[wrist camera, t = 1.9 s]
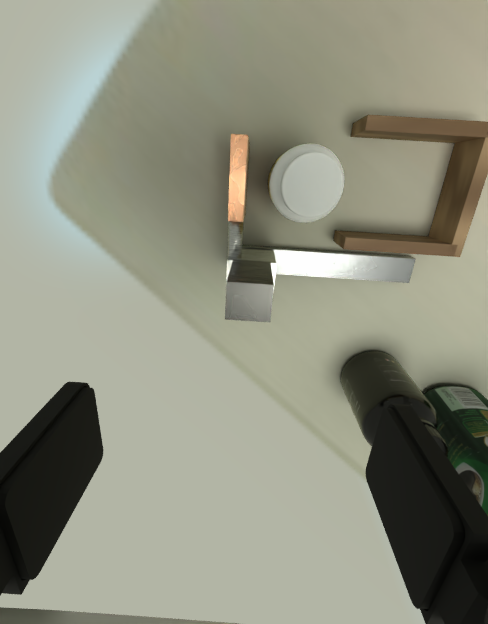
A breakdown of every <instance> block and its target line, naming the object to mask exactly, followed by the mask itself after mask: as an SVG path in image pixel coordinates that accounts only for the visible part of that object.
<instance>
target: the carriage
mask: <svg viewBox="0 0 488 624" xmlns="http://www.w3.org/2000/svg"><path fill="white" fill-rule="evenodd" d="M249 147H250V142H249V138H248V135H241V134H231V149H230V176H229V204H228V221H229V226H228V252H227V275H226V307H225V319H228V320H243V321H257V322H270V320H271V310H272V300H273V292H274V284H275V274H276V264H277V263H276V258H275V254H274V250H260V249H244V248H242V239H243V221H244V218H245V215H246V199H247V182H248V164H249Z"/></svg>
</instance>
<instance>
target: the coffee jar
mask: <svg viewBox="0 0 488 624" xmlns="http://www.w3.org/2000/svg"><path fill="white" fill-rule="evenodd" d="M424 395H425V396H426V398H427V399H428V400H429V401H430V403H431V404H432V405H433V407H434V408H435V410H436V413H437V416H438V427H437V430H438V431H439V433H440V435H441V437H442V438H443V439H444V441H445V442H446V445H447V446H448V451H449V452H448V457H447V458H448V459H449V461H450V462H451V464H452V465H453V466H454V468H455V469H456V471H457V472H458V474H459V475H460V477H461V478H462V479H463V481H464V482H465V484H466V485H467V487H468V488H469V490H470V491H471V492H472V494H473V495H474V497H475V498H476V500H477V501H478V503H479V504H480V505H481V507H482V508H483V510H484V511H485V513H486V514H487V516H488V400H487V399H486V398H485V397H484V396H483V395H482V394H481V393H479V392H478V391H476V390H474V389H470V388H466V387H461V386H441V387H437V388H434V389H432V390H430V391H427V392H426V393H425V394H424Z"/></svg>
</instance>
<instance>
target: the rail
mask: <svg viewBox="0 0 488 624" xmlns="http://www.w3.org/2000/svg"><path fill="white" fill-rule="evenodd" d="M242 248H244V249H260V250H274V254H275V258H276V263H277V264H276V274H284V275H299V276H314V277H329V278H343V279H358V280H373V281H388V282H403V283H409V281H410V278H411V274H412V270H413V267H414V263H415V258H413V257H411V256H401V255H386V254H371V253H355V252H340V251H325V250H310V249H295V248H279V247H264V246H249V245H242Z"/></svg>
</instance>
